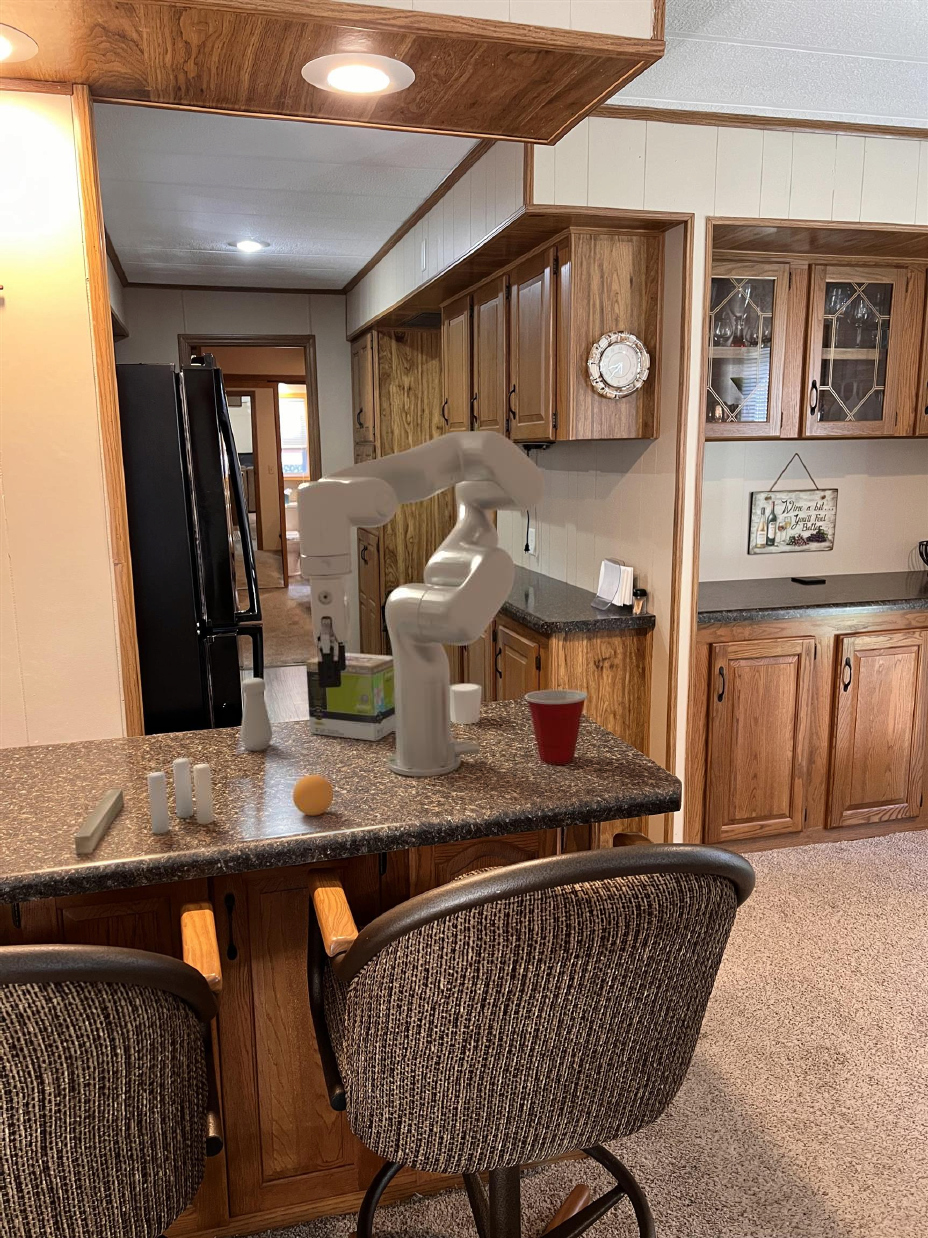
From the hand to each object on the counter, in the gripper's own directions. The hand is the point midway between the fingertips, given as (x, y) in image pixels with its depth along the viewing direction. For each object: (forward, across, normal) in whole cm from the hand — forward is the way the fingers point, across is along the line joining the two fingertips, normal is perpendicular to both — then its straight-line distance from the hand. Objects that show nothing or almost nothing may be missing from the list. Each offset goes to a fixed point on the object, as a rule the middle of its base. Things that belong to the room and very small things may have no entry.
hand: (333, 678), depth 139 cm
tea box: (+21, +38, 0) cm, 43 cm away
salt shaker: (+20, +30, +18) cm, 40 cm away
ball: (+17, -3, +4) cm, 18 cm away
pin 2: (+20, -2, +23) cm, 31 cm away
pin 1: (+20, -7, +25) cm, 33 cm away
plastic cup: (+21, +17, -36) cm, 45 cm away
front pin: (+20, -4, +20) cm, 28 cm away
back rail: (+20, -5, +35) cm, 40 cm away
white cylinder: (+21, +42, -22) cm, 52 cm away
